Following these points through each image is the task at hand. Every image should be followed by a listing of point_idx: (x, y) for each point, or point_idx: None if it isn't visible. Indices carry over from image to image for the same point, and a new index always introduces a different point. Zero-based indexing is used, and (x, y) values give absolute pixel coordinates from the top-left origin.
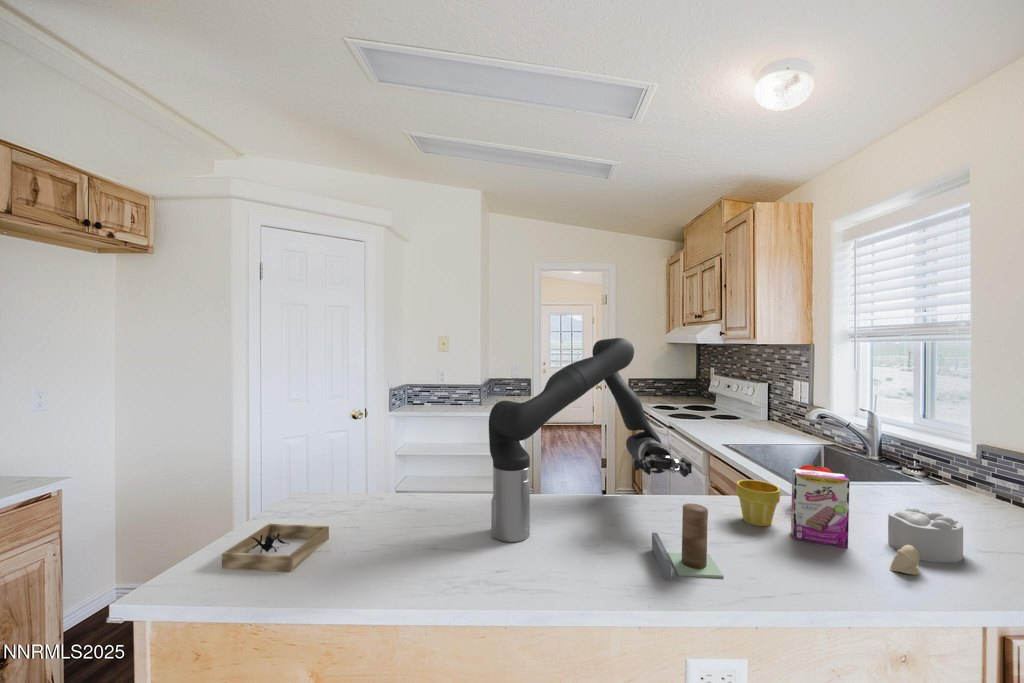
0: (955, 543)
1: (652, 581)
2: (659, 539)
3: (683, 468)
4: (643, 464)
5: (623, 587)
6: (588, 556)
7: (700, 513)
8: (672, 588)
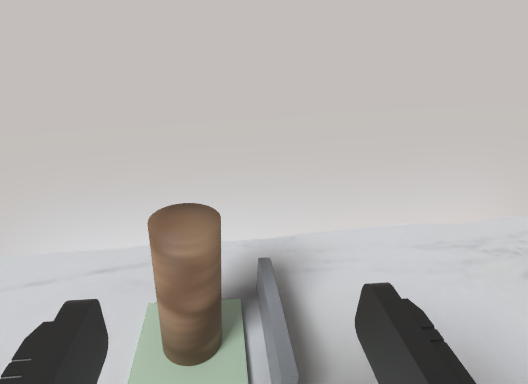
0: None
1: (289, 281)
2: (276, 334)
3: (90, 311)
4: (465, 378)
5: (333, 263)
6: None
7: (183, 205)
8: (257, 270)
